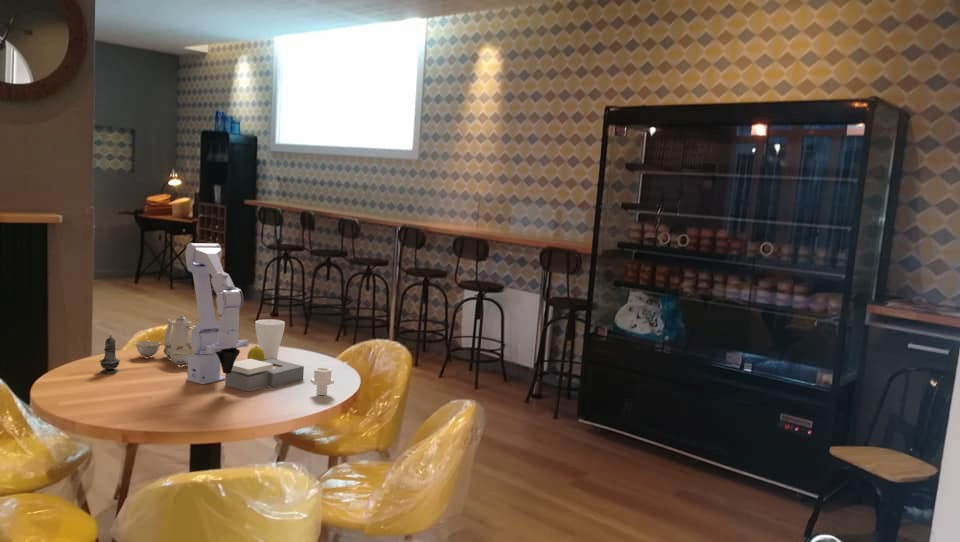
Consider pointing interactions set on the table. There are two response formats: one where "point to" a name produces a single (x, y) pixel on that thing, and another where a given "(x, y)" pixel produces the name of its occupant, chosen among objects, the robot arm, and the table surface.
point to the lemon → (256, 354)
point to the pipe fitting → (322, 380)
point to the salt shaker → (109, 357)
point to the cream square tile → (251, 366)
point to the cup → (269, 336)
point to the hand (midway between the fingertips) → (226, 372)
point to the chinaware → (172, 342)
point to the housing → (266, 376)
